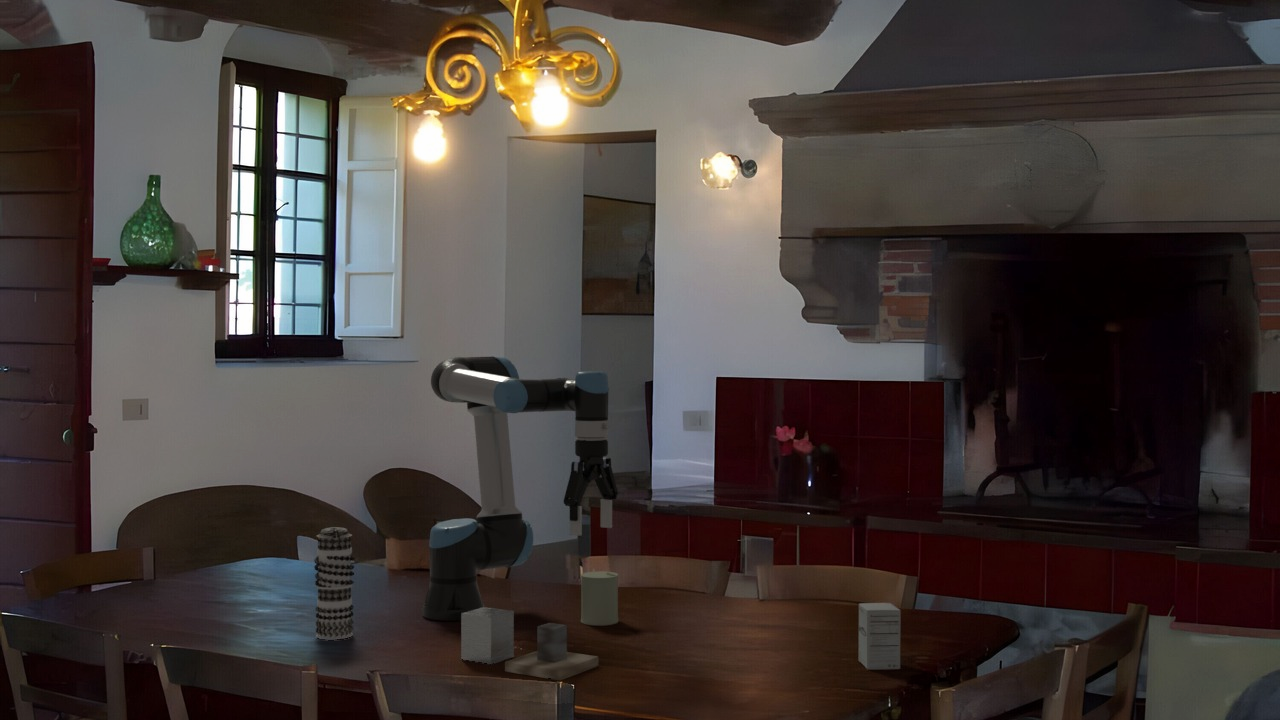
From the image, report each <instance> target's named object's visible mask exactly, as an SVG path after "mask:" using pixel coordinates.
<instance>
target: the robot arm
mask: <svg viewBox="0 0 1280 720" xmlns="http://www.w3.org/2000/svg"><path fill="white" fill-rule="evenodd" d="M430 386H431V389H432V391H433V393H434V394H435V395H436V396H437V397H438V398H439V399H441V400H442V401H445V402H449V403H456V404H457V403H461V404H462V403H466V407H467V408H466V409H467V412H468V413H469V414H471V415H472V416H473V421H474V432H475V433H474V434H475V445H476V458H477V467H478V479H479V480H478V481H479V482H478V483H479V491H480V504H481V505H480V506H481V510H480V512H479V513H478V514H477V516H476V519H474V518H464V517H463V518H455V519H448V520H444V521H441V522H438V523H436V524H435V525H434V526H432V527H431V529H430V534H429V542H428V546H429V586H428V590H427V592H426V596H425V599H424V603H423V605H422V616H423V618H426V619H429V620H434V621H445V622H447V621H448V622H449V621H450V622H451V621H461V613H465V612H468V611H472V610H475V609H479V608H483V607H485V605H484V602H483V600H482V596H481V593H480V589H479V586H478V571H482V570H491V569H492V570H493V569H500V568H502V569H503V568H505V569H506V568H512V567H516V566H520V565H523V564H524V563H525V562H526V561H527V560H528V559H529V556H530V555H531V554H532V551H533V547H534V531H533V528H532V527H531V524H530V522H529V521H528V520H526V519H523V513H522V511H521V510H520V509H518V507H517V506H516V499H515V498H516V497H515V488H514V486H515V485H514V478H513V477H514V475H513V465H512V464H513V463H512V454H511V441H510V427H509V419H508V417H509V416H508V414H519V413H536V412H539V413H540V412H543V413H544V412H564V411H565V412H575V415H574V416H575V421H574V423H575V425H574V429H575V430H574V436H575V437H576V438H577V439H575V441H574V442H575V443H574V444H575V445H574V452H575V453H574V454H575V456H577V457H579V461H572V462H571V465H570V466H571V467H570V475H569V478H568V482H567V486H566V491H565V495H564V498H563V504H564V506H566V507H569V535H570V536H577V537H579V536H583V534H582V533H583V530H582V529H583V528H582V527H583V525H582V524H583V519H582V518H583V517H582V515H583V506H580V505H581V502H582V499H583V497H584V496H585V495H584V494H585V493H586V490H587V488H588V486H589V484H590V483H591V482H592V481H595V484H596V486H597V488H598V491H599V492H600V494H601V497H602V499H601V498H600V528H607V529H612V528H613V500H617V499H618V494H619V491H618V487H617V483H616V481H615V477H614V471H613V468H612V458H611V457H606V456H608V454H609V441H608V440H607V438H608V436H609V434H608V433H609V424H608V423H609V422H608V420H609V391H610V389H609V377H608V374H607V373H606V372H605V371H593V370H592V371H589V370H588V371H587V370H586V371H577V373H576V374H575V378H568V377H558V378H550V379H549V378H545V379H544V378H543V379H542V378H541V379H521V378H520V376H519V373H518V370H517V367H515V365H514V364H513V363H512V361H511V360H509V358H506V357H503V356H502V357H501V356H493V355H492V356H465V357H463V356H457V357H456V356H455V357H450V358H446V359H444V360H443V361H440V363H438V365H436V367H435V368H434V369H433V370H432V373H431V377H430Z"/></svg>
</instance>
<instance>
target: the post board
mask: <svg viewBox="0 0 1280 720" xmlns="http://www.w3.org/2000/svg"><path fill="white" fill-rule="evenodd" d="M536 631H537V632H536V633H537V636H536V638H537V640H536V641H537V644H536V645H537V646H536V647H537V649H536V651H532V652H530V653H527V654H524V655H521V656H518V657H515V658H512V659H508V660H505V661H504V672H505V673H506V672H507V673H512V674H519V675H525V676H531V677H537V678H541V679H542V678H543V679H548V678H551V679H550V680H554V681H559V682H560V681H563V680H566V679H569V678H570V677H574V676H576V675H579V674H581V673H584V672H586V671H589V670H591V669H594V668H597V667H599V656H598V655H589V654H583V653H577V652H570V651H568V648H567V647H568V625H566V624H561V623H554V622H548V623H544V624H541V625H538V626H537V630H536Z"/></svg>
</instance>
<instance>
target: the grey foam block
mask: <svg viewBox="0 0 1280 720" xmlns="http://www.w3.org/2000/svg"><path fill="white" fill-rule="evenodd" d="M514 612H515V611H514V610H509V609H504V608H503V609H501V608H496V607H495V608H494V607H487V606H484V607H483V608H479V609H475V610H472V611H468V612H465V613H461V620H460V622H461V623H460V625H461V627H460V628H461V631H460V634H461V635H460V638H461V643H460V645H461V647H460V649H461V652H460V656H461V659H463V660H462V661H466V660H469V661H468V662H472V661H475V662H474V663H478V662H482V663H481V664H484V663H487V664H486V665H490V664H491V665H494V664H497V663H500V662H503V661H507V660H510V659H511V658H512V659H513V658H514V657H515V655H514V653H515V649H514V648H515V647H514V646H515V645H514V642H515V640H514V639H515V637H514V635H515V634H514V633H515V632H514V631H515V630H514V629H515V627H514V626H515V623H514V621H515V620H514V619H515V618H514V617H515V615H514ZM461 659H460V660H461ZM493 663H494V664H493Z"/></svg>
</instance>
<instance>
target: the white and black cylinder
mask: <svg viewBox="0 0 1280 720" xmlns="http://www.w3.org/2000/svg"><path fill="white" fill-rule="evenodd" d="M348 530H349V529H348V528H345V527H340V526H339V527H336V526H335V527H334V526H333V527H332V526H331V527H325V528H323V529H321V531H320V532H319V534H317V535H316V536H315V537H317V548H316V552H317V553H316V555H317V556H316V557H315V558H314V561H313V562H314V564H315V565H314V570H315V571H316V573H315V575H314V577H315V581H314V583H315V588H317V600H316V603H317V606H316V607H315V611H316V612H317V613H316V614H315V618H316V619H317V620H316V621H315V626H316V627H315V633H316V635H315V638H316V637H318V638H323V639H340V638H347V637H351V636H352V635H353V636H354V633H353V631H354V628H355V627H354V626H353V624H354V623H355V622H354V619H353V618H352V617H353V616H354V612H353V611H352V610H354V605H353V597H352V587H353V586H354V583H355V582H354V580H352V579H351V577H353V576H354V575H355V572H354V571H353V569H354V568H355V565H354V564H352V563H351V562H353V561H354V560H356V557H354V554H355V551H353V547H352V536H353V534H352V533H350V532H349V531H348ZM351 638H352V637H351Z"/></svg>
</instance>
